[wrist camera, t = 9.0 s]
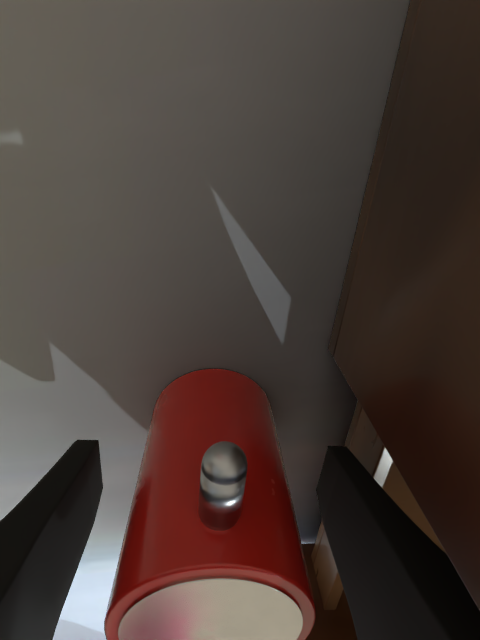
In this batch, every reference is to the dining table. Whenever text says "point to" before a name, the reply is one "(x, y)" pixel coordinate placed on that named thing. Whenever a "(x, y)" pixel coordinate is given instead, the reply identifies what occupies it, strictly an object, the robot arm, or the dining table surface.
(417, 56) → the cabinet
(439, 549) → the robot arm
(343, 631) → the drawer
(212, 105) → the dining table surface
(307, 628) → the red mug
